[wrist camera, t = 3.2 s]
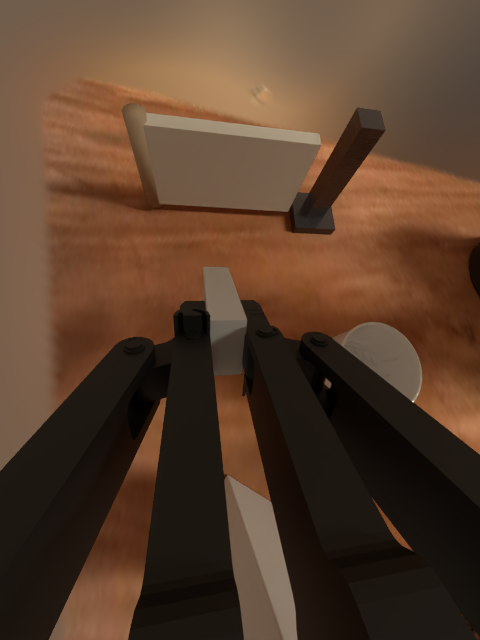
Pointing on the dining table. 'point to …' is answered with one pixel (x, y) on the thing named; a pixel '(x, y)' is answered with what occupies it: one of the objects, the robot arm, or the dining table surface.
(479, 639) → the sauce bottle
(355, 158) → the gate post
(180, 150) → the gate panel
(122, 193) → the dining table surface
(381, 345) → the white cup
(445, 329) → the dining table surface
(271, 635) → the milk
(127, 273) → the dining table surface
